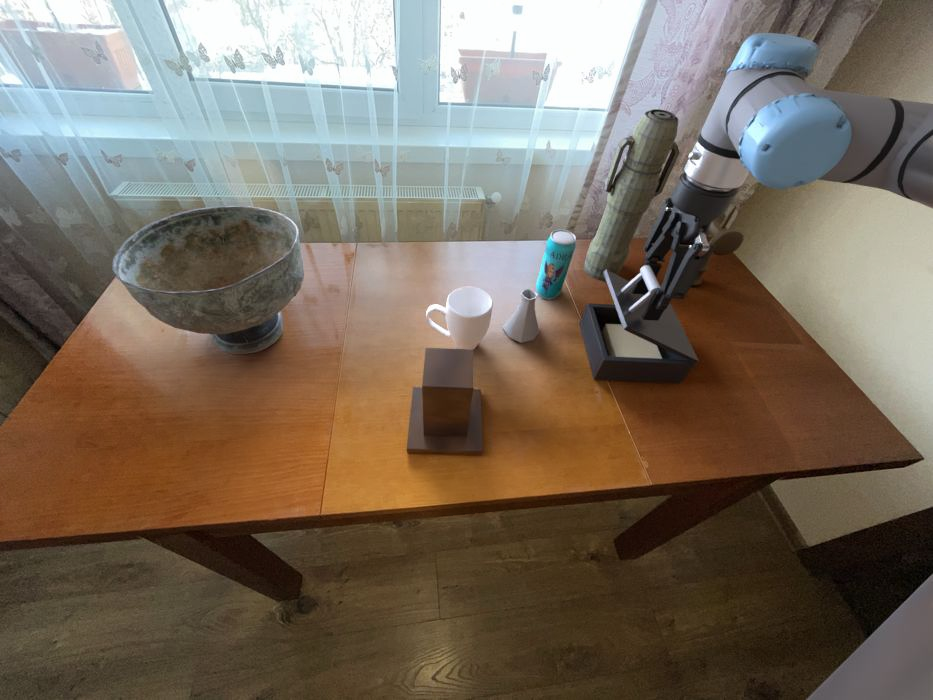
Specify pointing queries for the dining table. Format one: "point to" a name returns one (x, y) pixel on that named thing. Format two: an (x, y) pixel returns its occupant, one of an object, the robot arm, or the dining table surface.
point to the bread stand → (446, 406)
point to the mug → (464, 316)
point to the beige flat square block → (627, 343)
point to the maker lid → (634, 305)
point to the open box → (625, 367)
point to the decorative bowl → (216, 273)
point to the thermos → (632, 189)
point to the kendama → (721, 241)
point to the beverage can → (555, 263)
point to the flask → (523, 318)
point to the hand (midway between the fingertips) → (644, 305)
